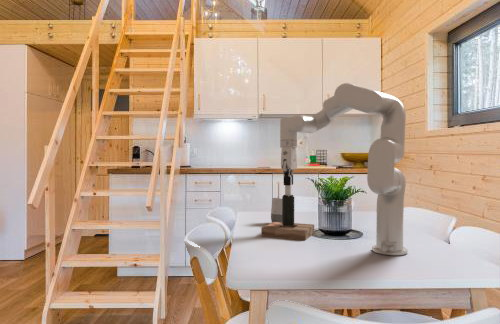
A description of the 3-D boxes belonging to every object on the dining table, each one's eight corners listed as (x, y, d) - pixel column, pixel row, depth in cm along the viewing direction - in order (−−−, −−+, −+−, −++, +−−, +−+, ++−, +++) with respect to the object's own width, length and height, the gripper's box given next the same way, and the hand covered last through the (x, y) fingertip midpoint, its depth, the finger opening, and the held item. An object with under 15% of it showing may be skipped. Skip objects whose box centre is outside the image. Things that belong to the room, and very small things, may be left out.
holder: (305, 240, 164) (305, 230, 164) (261, 236, 172) (261, 226, 172) (314, 233, 179) (314, 223, 179) (273, 229, 187) (273, 220, 187)
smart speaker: (292, 223, 203) (292, 197, 203) (282, 226, 196) (282, 198, 196) (277, 221, 209) (277, 195, 209) (267, 224, 202) (267, 197, 202)
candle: (292, 223, 178) (293, 169, 178) (294, 225, 173) (294, 169, 173) (281, 223, 178) (282, 169, 177) (283, 225, 173) (283, 169, 172)
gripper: (291, 143, 166) (291, 186, 166) (301, 144, 181) (301, 183, 181) (274, 144, 169) (274, 186, 169) (286, 144, 184) (285, 183, 184)
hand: (288, 184), depth 175 cm, fingers closed on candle, 3 cm apart
